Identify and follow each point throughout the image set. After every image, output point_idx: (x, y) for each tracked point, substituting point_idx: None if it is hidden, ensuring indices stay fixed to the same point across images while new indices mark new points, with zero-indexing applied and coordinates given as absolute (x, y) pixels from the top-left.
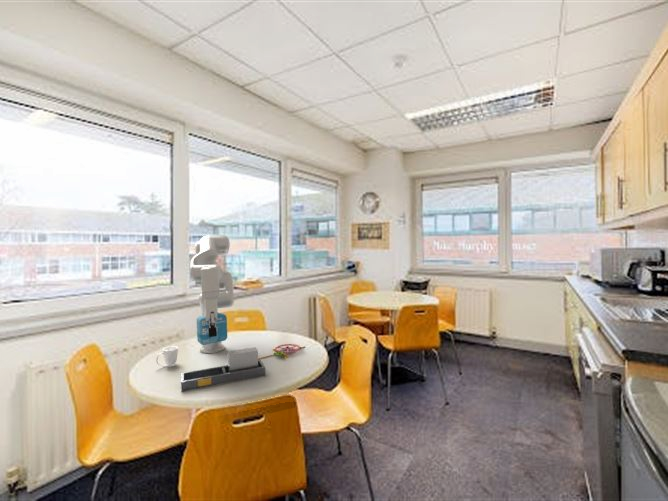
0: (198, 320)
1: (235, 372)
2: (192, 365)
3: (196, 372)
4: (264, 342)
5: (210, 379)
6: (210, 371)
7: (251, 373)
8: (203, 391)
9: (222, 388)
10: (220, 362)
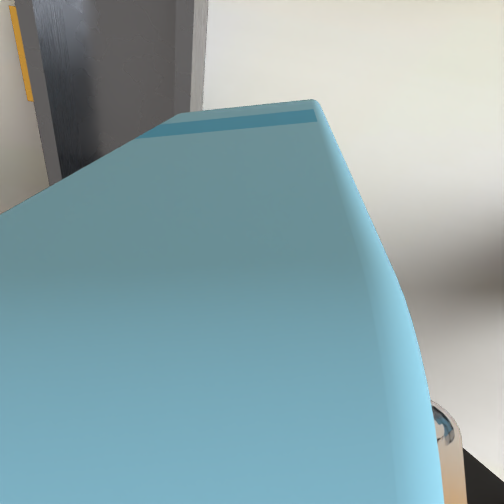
0: (11, 328)
1: None
2: (479, 56)
3: (177, 30)
4: (472, 433)
5: (30, 95)
6: None
7: None
8: (9, 36)
9: (23, 139)
10: (381, 223)
